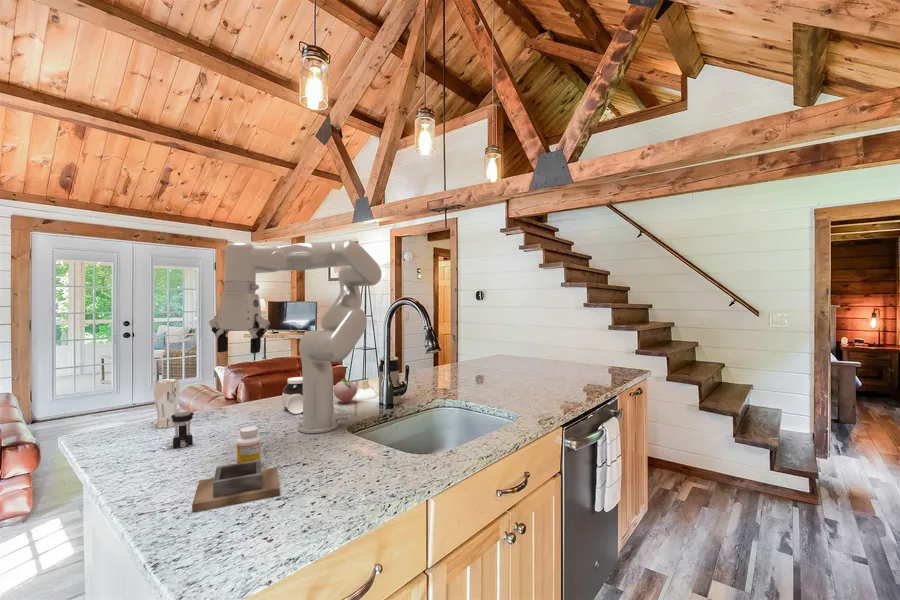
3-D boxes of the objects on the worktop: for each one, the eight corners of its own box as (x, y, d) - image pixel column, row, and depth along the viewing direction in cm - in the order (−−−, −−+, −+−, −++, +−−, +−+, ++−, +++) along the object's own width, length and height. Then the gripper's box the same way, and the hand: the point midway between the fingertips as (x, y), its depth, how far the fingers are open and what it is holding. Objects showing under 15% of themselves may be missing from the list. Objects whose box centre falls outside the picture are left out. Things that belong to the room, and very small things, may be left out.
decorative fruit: (329, 402, 166) (329, 377, 166) (348, 399, 172) (347, 375, 171) (341, 407, 159) (340, 381, 159) (359, 403, 165) (359, 378, 165)
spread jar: (302, 404, 163) (302, 375, 163) (320, 409, 156) (320, 378, 156) (274, 411, 153) (274, 380, 153) (292, 416, 147) (292, 384, 147)
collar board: (276, 473, 99) (276, 454, 99) (279, 495, 88) (279, 474, 88) (199, 487, 92) (199, 467, 92) (192, 512, 81) (192, 489, 81)
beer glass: (184, 423, 139) (184, 379, 139) (164, 429, 133) (164, 383, 133) (169, 421, 142) (169, 377, 141) (149, 427, 135) (148, 381, 135)
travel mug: (375, 404, 163) (375, 359, 163) (385, 399, 170) (385, 356, 170) (393, 406, 160) (392, 360, 160) (402, 401, 167) (402, 357, 167)
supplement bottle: (242, 463, 105) (242, 425, 105) (264, 462, 106) (264, 424, 106) (233, 472, 100) (233, 432, 100) (256, 471, 100) (256, 431, 100)
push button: (165, 451, 114) (165, 415, 113) (165, 446, 118) (165, 411, 118) (194, 446, 117) (193, 411, 117) (193, 441, 122) (193, 407, 122)
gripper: (277, 289, 114) (276, 351, 113) (221, 289, 116) (219, 350, 116) (260, 288, 106) (259, 354, 106) (201, 288, 109) (199, 353, 109)
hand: (238, 352), depth 111 cm, fingers open, 9 cm apart
